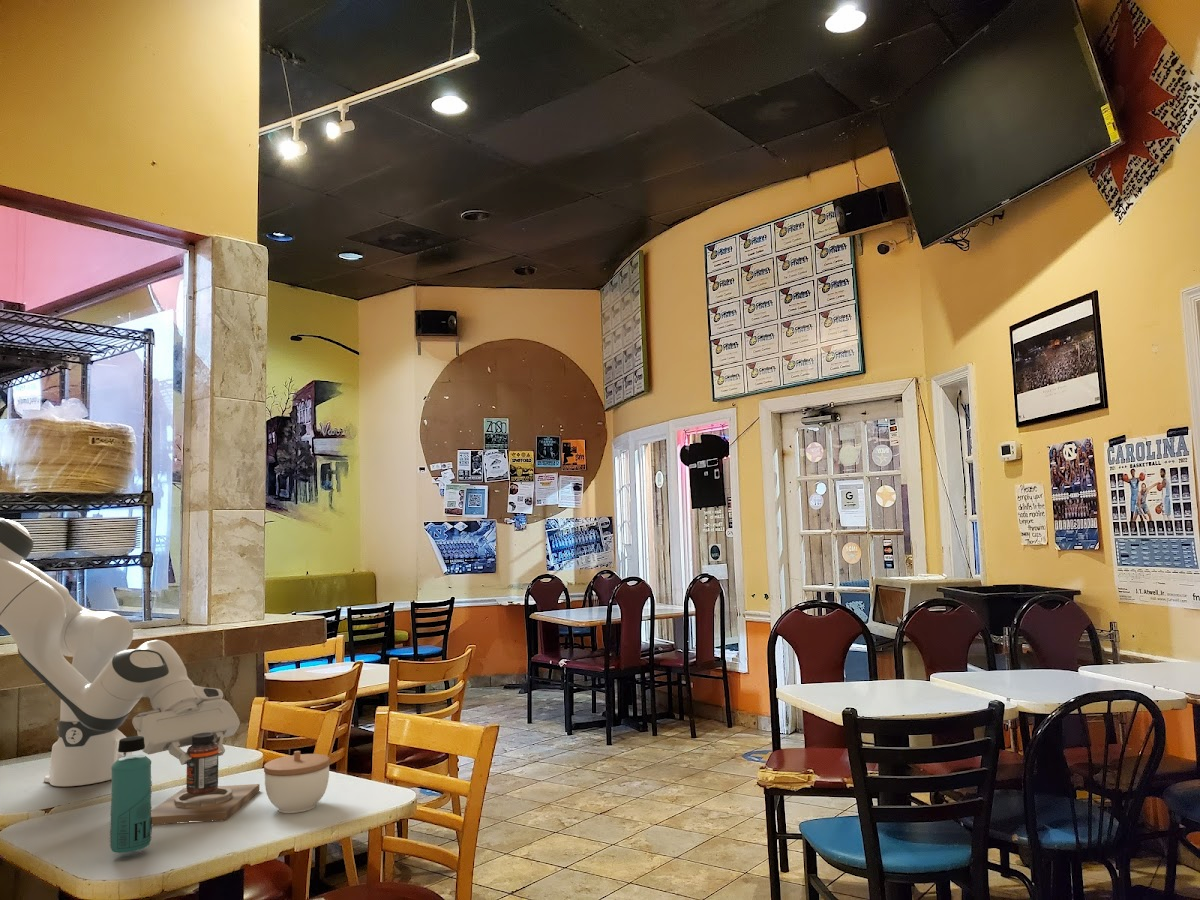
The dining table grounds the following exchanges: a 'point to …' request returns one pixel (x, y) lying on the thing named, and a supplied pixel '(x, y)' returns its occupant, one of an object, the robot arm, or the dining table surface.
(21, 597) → the robot arm
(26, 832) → the dining table surface
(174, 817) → the walnut seat board
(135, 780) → the beverage bottle
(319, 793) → the lidded bowl
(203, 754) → the supplement bottle
